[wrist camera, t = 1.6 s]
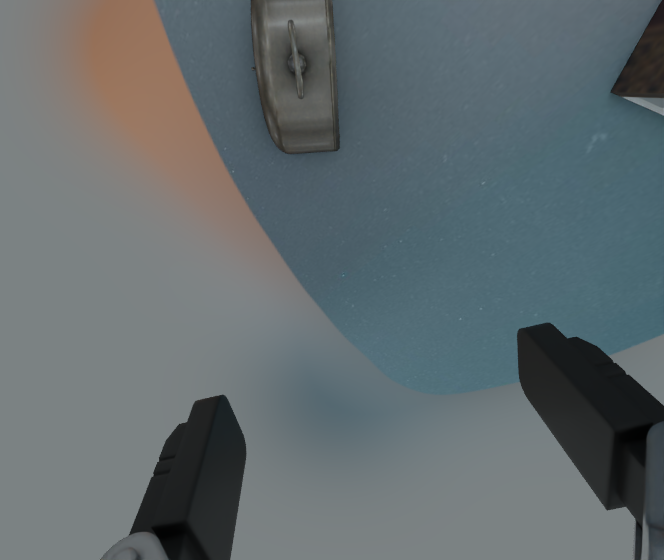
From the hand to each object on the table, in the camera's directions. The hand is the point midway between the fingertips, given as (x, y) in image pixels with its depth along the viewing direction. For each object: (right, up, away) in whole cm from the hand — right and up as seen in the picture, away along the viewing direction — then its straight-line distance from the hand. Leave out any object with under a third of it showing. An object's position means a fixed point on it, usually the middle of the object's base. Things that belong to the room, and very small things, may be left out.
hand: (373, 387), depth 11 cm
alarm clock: (-4, +20, +22) cm, 30 cm away
